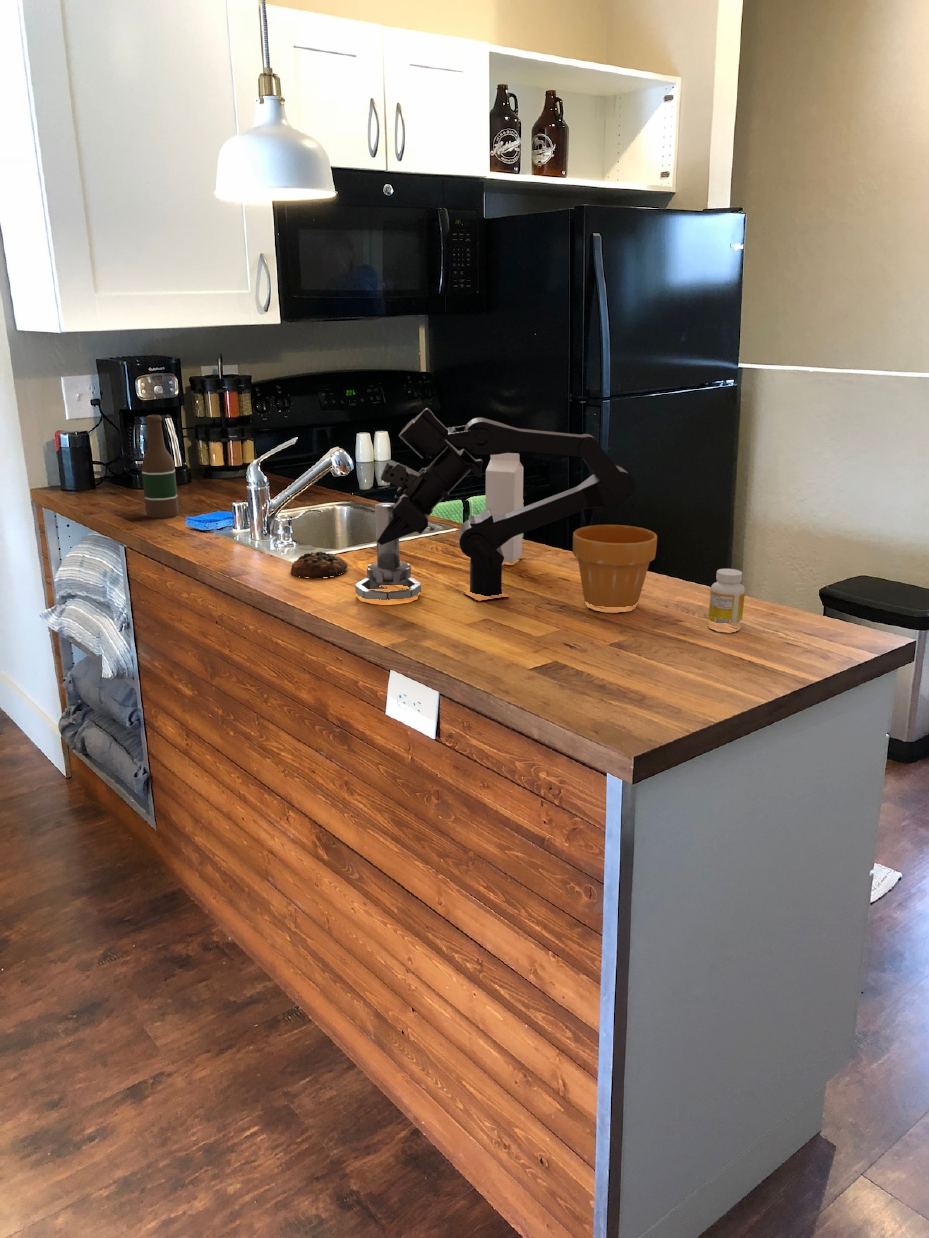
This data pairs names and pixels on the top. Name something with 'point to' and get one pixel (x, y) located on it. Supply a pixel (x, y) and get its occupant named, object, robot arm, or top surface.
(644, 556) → the flower pot
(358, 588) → the grey octagonal ring
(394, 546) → the grey cylinder with base
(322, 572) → the bread roll
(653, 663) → the top surface
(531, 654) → the top surface
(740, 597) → the supplement bottle
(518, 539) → the milk
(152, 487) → the beer bottle
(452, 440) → the robot arm
